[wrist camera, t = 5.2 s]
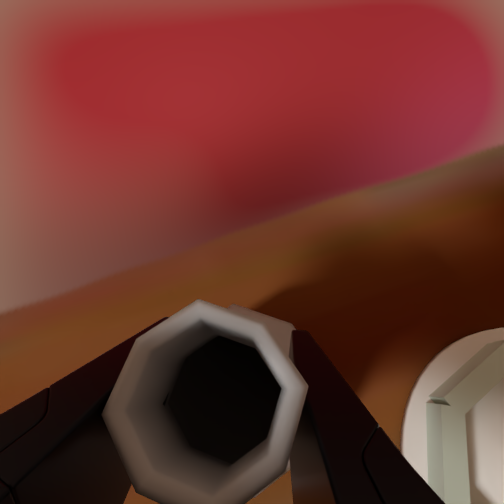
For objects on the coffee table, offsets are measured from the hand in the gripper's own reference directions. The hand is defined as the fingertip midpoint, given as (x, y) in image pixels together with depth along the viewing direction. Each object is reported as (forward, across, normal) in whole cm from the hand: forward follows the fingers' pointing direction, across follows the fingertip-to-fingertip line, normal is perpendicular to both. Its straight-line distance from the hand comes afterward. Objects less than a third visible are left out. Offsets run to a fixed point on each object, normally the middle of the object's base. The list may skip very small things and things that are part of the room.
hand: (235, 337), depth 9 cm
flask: (+4, 0, +6) cm, 7 cm away
